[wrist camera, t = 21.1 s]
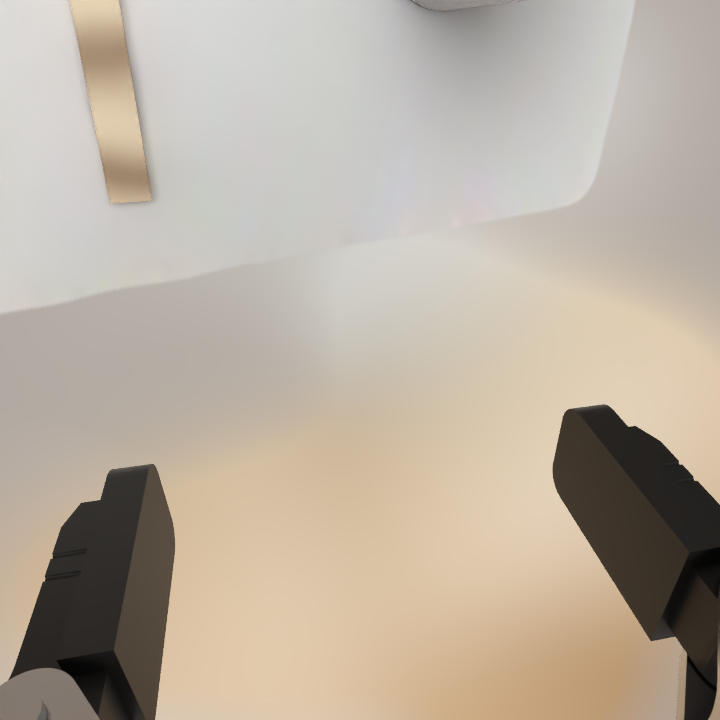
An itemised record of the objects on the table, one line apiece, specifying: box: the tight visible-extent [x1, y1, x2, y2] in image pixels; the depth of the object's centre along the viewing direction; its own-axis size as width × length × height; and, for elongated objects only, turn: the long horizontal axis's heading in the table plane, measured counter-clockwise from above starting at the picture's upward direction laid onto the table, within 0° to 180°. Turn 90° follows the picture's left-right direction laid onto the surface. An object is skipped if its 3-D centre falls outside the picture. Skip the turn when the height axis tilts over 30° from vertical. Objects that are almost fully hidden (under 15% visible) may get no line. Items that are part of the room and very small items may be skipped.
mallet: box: [70, 0, 152, 204], centre depth 33 cm, size 22×6×5 cm, turn 0°
